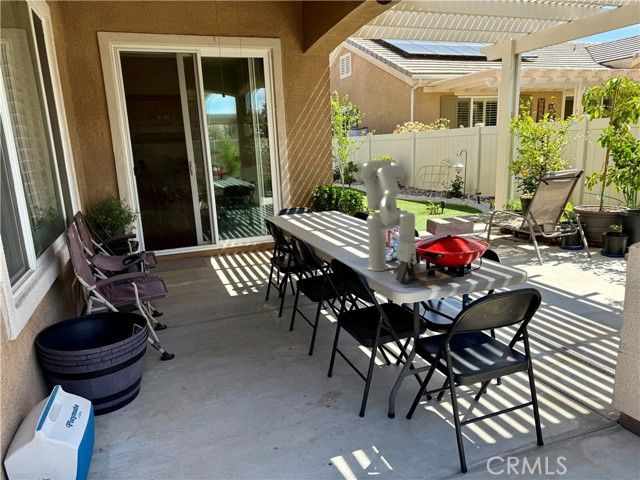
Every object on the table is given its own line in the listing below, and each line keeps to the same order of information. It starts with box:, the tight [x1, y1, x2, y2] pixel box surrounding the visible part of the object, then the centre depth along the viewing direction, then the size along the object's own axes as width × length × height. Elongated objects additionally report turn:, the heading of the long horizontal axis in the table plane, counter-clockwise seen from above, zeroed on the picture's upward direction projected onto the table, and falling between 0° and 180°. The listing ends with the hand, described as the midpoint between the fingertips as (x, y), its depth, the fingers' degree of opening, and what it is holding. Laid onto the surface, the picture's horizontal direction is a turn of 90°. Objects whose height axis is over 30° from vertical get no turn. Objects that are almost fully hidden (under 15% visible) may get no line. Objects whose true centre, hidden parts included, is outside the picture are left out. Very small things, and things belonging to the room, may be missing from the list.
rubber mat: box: [392, 280, 422, 289], centre depth 221 cm, size 10×10×1 cm
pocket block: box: [406, 269, 453, 287], centre depth 226 cm, size 16×16×2 cm
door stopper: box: [395, 260, 417, 283], centre depth 219 cm, size 9×6×12 cm, turn 105°
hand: (406, 273), depth 220 cm, fingers closed on door stopper, 6 cm apart
